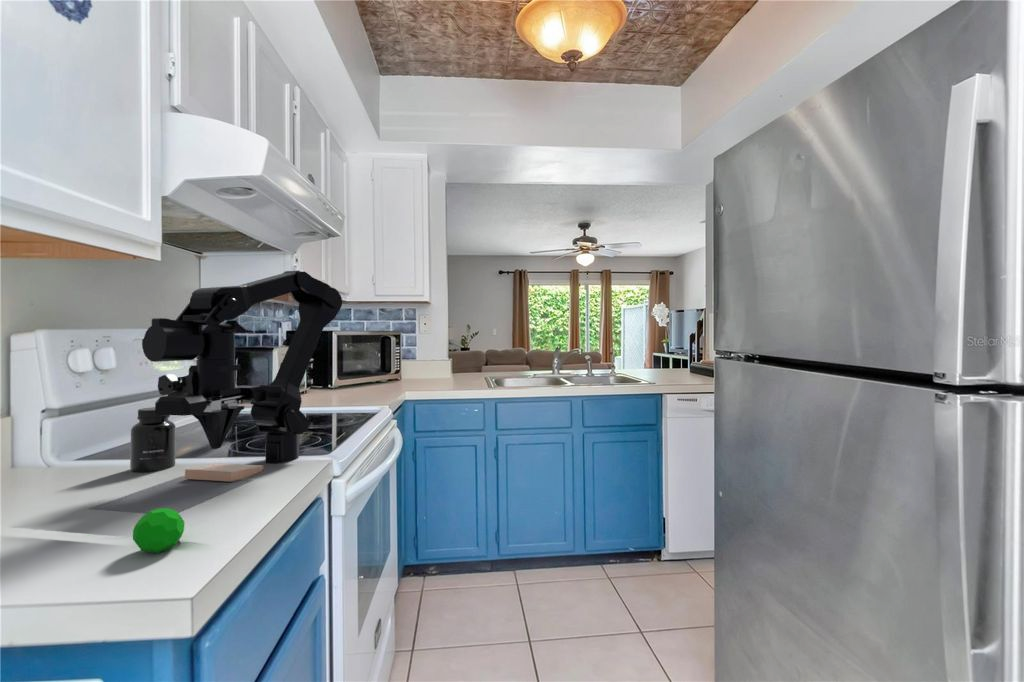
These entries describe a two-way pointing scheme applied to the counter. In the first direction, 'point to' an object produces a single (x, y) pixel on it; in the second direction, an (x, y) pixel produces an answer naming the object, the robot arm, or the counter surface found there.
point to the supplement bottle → (152, 442)
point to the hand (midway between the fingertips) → (215, 448)
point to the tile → (222, 472)
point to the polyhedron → (158, 530)
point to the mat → (171, 495)
